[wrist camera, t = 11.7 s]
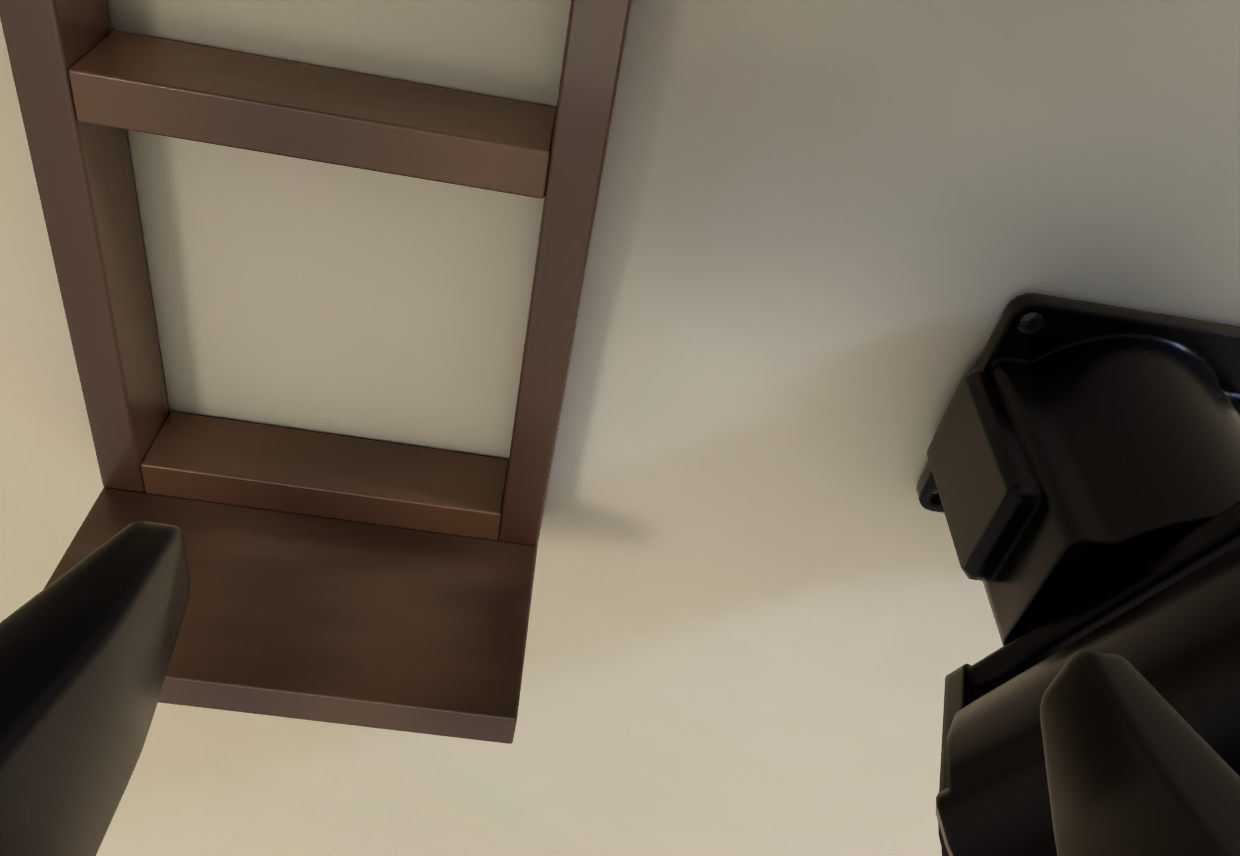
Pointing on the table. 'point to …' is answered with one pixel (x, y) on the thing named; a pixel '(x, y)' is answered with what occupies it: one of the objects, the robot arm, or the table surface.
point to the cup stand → (302, 460)
